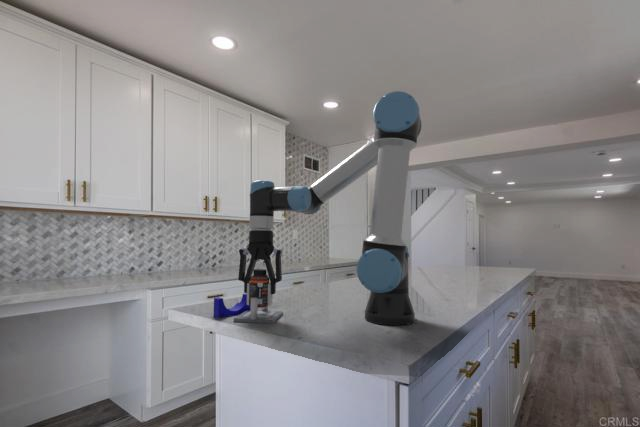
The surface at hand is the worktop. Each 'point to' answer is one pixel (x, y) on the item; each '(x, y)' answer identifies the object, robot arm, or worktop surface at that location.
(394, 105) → the robot arm
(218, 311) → the cable clip
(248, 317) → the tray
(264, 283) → the supplement bottle
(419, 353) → the worktop surface
